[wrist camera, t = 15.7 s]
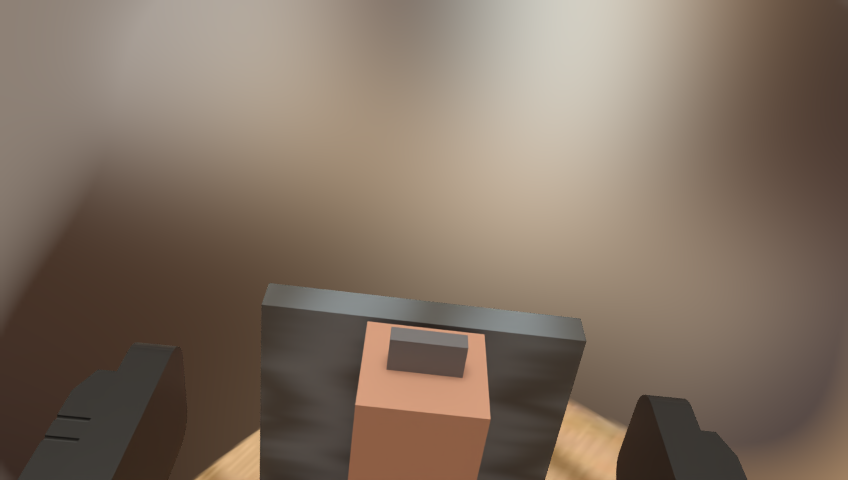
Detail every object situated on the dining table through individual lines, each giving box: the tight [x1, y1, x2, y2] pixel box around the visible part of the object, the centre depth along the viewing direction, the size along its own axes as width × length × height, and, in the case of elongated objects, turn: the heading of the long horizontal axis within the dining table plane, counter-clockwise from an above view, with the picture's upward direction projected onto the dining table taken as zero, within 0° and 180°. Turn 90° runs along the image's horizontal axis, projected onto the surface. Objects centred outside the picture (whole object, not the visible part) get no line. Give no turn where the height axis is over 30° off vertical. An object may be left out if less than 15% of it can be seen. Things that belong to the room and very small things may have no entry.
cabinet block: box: [348, 321, 491, 480], centre depth 32 cm, size 5×5×14 cm
